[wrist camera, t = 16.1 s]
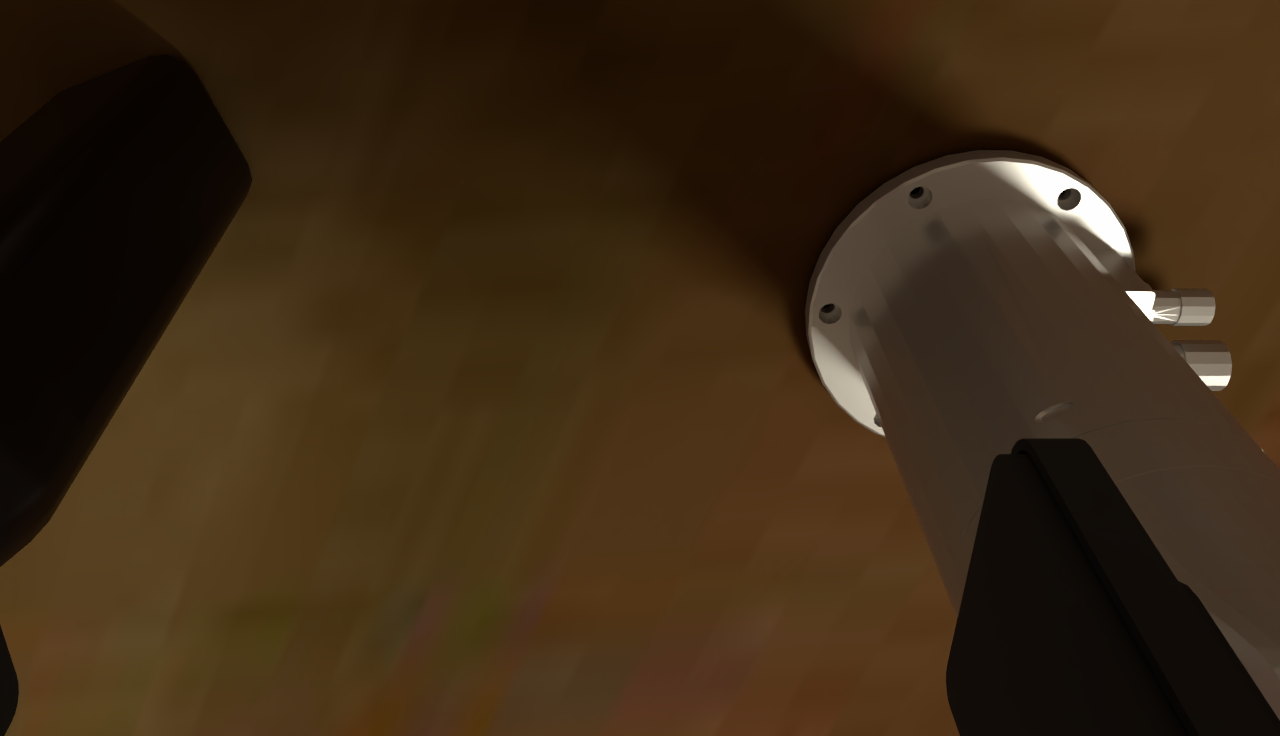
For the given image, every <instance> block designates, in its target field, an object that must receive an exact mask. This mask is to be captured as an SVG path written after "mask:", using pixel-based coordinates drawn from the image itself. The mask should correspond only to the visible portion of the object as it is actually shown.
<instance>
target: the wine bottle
mask: <svg viewBox="0 0 1280 736" xmlns="http://www.w3.org/2000/svg"><path fill="white" fill-rule="evenodd" d="M251 182H252V177H251V173H250V170H249V166H248V163H247V161H246V160H245V158H244V156H243V154H242V153H241V151H240V149H239V147H238V146H237V144H236V142H235V140H234V139H233V137H232V135H231V133H230V132H229V130H228V128H227V127H226V125H225V123H224V121H223V120H222V118H221V116H220V114H219V113H218V111H217V109H216V107H215V106H214V104H213V102H212V100H211V99H210V97H209V95H208V93H207V92H206V90H205V88H204V86H203V85H202V83H201V81H200V79H199V78H198V76H197V75H196V73H195V72H194V71H193V70H192V69H191V68H190V67H189V66H188V65H187V64H186V63H185V62H184V61H182V60H180V59H177V58H175V57H172V56H170V55H167V54H166V55H157V56H149V57H147V58H144V59H142V60H139V61H137V62H134V63H132V64H129V65H127V66H124V67H122V68H119V69H117V70H114V71H112V72H109V73H107V74H104V75H102V76H99V77H97V78H94V79H92V80H89V81H87V82H84V83H82V84H79V85H77V86H74V87H72V88H69V89H67V90H64V91H62V92H60V93H58V94H57V95H56V96H55V97H53V98H52V99H51V100H50V101H49V102H47V103H46V104H45V105H44V106H43V107H42V108H40V109H39V110H38V111H37V112H36V113H34V114H33V115H32V116H31V117H30V118H29V119H27V120H26V121H25V122H24V123H23V124H22V125H20V126H19V127H18V128H17V129H16V130H14V131H13V132H12V133H11V134H10V135H9V136H7V137H6V138H5V139H4V140H3V141H1V142H0V567H1V566H2V565H3V564H5V563H6V562H7V561H8V560H9V559H10V558H12V557H13V556H14V555H15V554H16V553H18V552H19V551H20V550H21V549H22V548H24V547H25V546H26V545H27V544H28V543H29V542H31V541H32V540H33V538H34V537H35V536H36V535H37V534H38V533H39V532H40V531H41V530H42V528H43V527H44V526H45V525H46V524H47V523H48V522H49V521H50V519H51V517H52V516H53V514H54V512H55V511H56V509H57V507H58V506H59V504H60V503H61V501H62V499H63V498H64V496H65V494H66V493H67V491H68V489H69V488H70V486H71V484H72V483H73V481H74V479H75V478H76V476H77V475H78V473H79V471H80V470H81V468H82V466H83V465H84V463H85V461H86V460H87V458H88V456H89V455H90V453H91V451H92V450H93V448H94V447H95V445H96V443H97V442H98V440H99V438H100V437H101V435H102V433H103V432H104V430H105V428H106V427H107V425H108V423H109V422H110V420H111V419H112V417H113V415H114V414H115V412H116V410H117V409H118V407H119V405H120V404H121V402H122V400H123V399H124V397H125V395H126V394H127V392H128V391H129V389H130V387H131V386H132V384H133V382H134V381H135V379H136V377H137V376H138V374H139V372H140V371H141V369H142V367H143V366H144V364H145V363H146V361H147V359H148V358H149V356H150V354H151V353H152V351H153V349H154V348H155V346H156V344H157V343H158V341H159V340H160V338H161V336H162V335H163V333H164V331H165V330H166V328H167V326H168V325H169V323H170V321H171V320H172V318H173V316H174V315H175V313H176V312H177V310H178V308H179V307H180V305H181V303H182V302H183V300H184V298H185V297H186V295H187V293H188V292H189V290H190V288H191V287H192V285H193V284H194V282H195V280H196V279H197V277H198V275H199V274H200V272H201V270H202V269H203V267H204V265H205V264H206V262H207V260H208V259H209V257H210V256H211V254H212V252H213V251H214V249H215V247H216V246H217V244H218V242H219V241H220V239H221V237H222V236H223V234H224V232H225V231H226V229H227V228H228V226H229V224H230V223H231V221H232V219H233V218H234V216H235V214H236V213H237V211H238V209H239V208H240V206H241V204H242V203H243V201H244V200H245V198H246V196H247V194H248V191H249V188H250V185H251Z"/></svg>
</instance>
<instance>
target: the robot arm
mask: <svg viewBox="0 0 1280 736" xmlns="http://www.w3.org/2000/svg"><path fill="white" fill-rule="evenodd" d="M917 187H921V188H920V190H919V192H917V193H916V194H910V192H911V191H912V190H914V189H915V188H917ZM1065 189H1067V190H1066V191H1065V193H1064V194H1062V195H1059V194H1060V193H1061V192H1062V191H1064V190H1065ZM831 303H832V304H831ZM827 304H831V305H830V306H829V307H827V308H823V306H825V305H827ZM1214 313H1215V299H1214V296H1213V294H1212V292H1211V291H1210V290H1208V289H1172V290H1152V288H1151V287H1150V285H1149V284H1147V283H1145V282H1144V281H1143V280H1142V279H1141V278H1140V277H1139V276H1138V275H1137V274H1136V269H1135V259H1134V252H1133V249H1132V246H1131V243H1130V240H1129V237H1128V235H1127V232H1126V229H1125V226H1124V225H1123V223H1122V222H1121V220H1120V219H1119V217H1118V216H1117V214H1116V213H1115V211H1114V210H1113V208H1112V207H1111V205H1110V204H1109V203H1108V202H1107V201H1106V199H1105V198H1104V197H1103V196H1102V195H1101V194H1100V193H1099V192H1098V191H1097V190H1096V189H1095V188H1094V187H1093V186H1092V185H1091V184H1089V183H1088V182H1087V181H1085V180H1084V179H1083V178H1081V177H1080V176H1078V175H1077V174H1076V173H1074V172H1073V171H1072V170H1070V169H1069V168H1067V167H1064V166H1062V165H1060V164H1057V163H1055V162H1053V161H1051V160H1048V159H1046V158H1044V157H1041V156H1036V155H1031V154H1026V153H1022V152H1017V151H1012V150H976V151H970V152H964V153H958V154H952V155H946V156H943V157H940V158H937V159H935V160H932V161H929V162H926V163H923V164H920V165H918V166H915V167H913V168H911V169H909V170H907V171H905V172H904V173H902V174H900V175H898V176H896V177H894V178H893V179H891V180H889V181H887V182H885V183H884V184H883V185H881V186H880V187H879V188H877V189H876V190H875V191H874V192H872V193H871V194H870V195H869V196H867V197H866V198H865V199H864V200H862V201H861V202H860V203H859V204H857V206H856V207H855V208H854V209H853V210H852V211H851V212H850V213H849V215H848V216H847V217H846V218H845V219H844V220H843V221H842V222H841V223H840V225H839V226H838V227H837V228H836V229H835V231H834V233H833V234H832V236H831V238H830V239H829V241H828V242H827V244H826V246H825V247H824V249H823V250H822V252H821V254H820V256H819V259H818V261H817V264H816V266H815V269H814V272H813V274H812V277H811V279H810V282H809V288H808V294H807V300H806V306H805V322H806V337H807V341H808V345H809V348H810V352H811V356H812V360H813V362H814V365H815V367H816V369H817V372H818V374H819V377H820V379H821V382H822V384H823V385H824V387H825V388H826V389H827V391H828V392H829V394H830V395H831V397H832V398H833V399H834V401H835V402H836V404H837V405H838V406H840V407H841V408H842V409H843V410H844V411H845V412H846V413H847V414H848V415H849V416H850V417H852V418H853V419H854V420H855V421H856V422H858V423H859V424H861V425H863V426H864V427H866V428H867V429H869V430H871V431H872V432H874V433H876V434H878V435H881V436H884V437H886V439H887V442H888V444H889V447H890V449H891V452H892V454H893V457H894V459H895V462H896V464H897V467H898V469H899V472H900V474H901V477H902V479H903V482H904V484H905V487H906V489H907V492H908V495H909V497H910V500H911V502H912V505H913V507H914V510H915V512H916V515H917V517H918V520H919V522H920V525H921V527H922V530H923V532H924V535H925V537H926V540H927V542H928V545H929V547H930V550H931V552H932V555H933V558H934V560H935V563H936V565H937V568H938V570H939V573H940V575H941V578H942V580H943V583H944V585H945V588H946V590H947V593H948V595H949V598H950V600H951V603H952V605H953V608H954V610H955V613H956V615H957V618H958V619H957V623H956V628H955V632H954V637H953V641H952V646H951V650H950V655H949V660H948V664H947V671H946V686H947V695H948V701H949V705H950V708H951V711H952V714H953V717H954V720H955V722H956V725H957V728H958V731H959V734H960V736H1280V468H1279V467H1278V466H1277V465H1276V464H1275V463H1274V462H1273V460H1272V459H1271V458H1270V457H1269V456H1268V455H1267V454H1266V453H1265V452H1264V451H1263V450H1262V449H1261V448H1260V447H1259V445H1258V444H1257V443H1256V442H1255V441H1254V440H1253V438H1252V437H1251V436H1250V435H1249V434H1248V433H1247V432H1246V430H1245V429H1244V428H1243V427H1242V426H1241V425H1240V423H1239V422H1238V421H1237V420H1236V419H1235V418H1234V417H1233V415H1232V414H1231V413H1230V412H1229V411H1228V410H1227V408H1226V407H1225V406H1224V405H1223V404H1222V403H1221V401H1220V400H1219V399H1218V398H1217V397H1216V396H1215V395H1214V393H1213V392H1212V391H1221V390H1222V389H1223V388H1224V387H1226V386H1227V384H1228V381H1229V379H1230V377H1231V369H1232V361H1231V355H1230V351H1229V350H1228V348H1227V346H1226V344H1225V343H1223V342H1221V341H1219V340H1174V341H1172V342H1169V341H1168V340H1167V339H1166V338H1165V337H1164V336H1163V334H1162V333H1161V332H1160V331H1159V330H1158V329H1157V327H1156V326H1155V325H1154V324H1170V325H1173V326H1206V325H1208V324H1210V323H1211V321H1212V319H1213V317H1214ZM18 694H19V690H18V680H17V675H16V672H15V669H14V666H13V663H12V660H11V657H10V654H9V651H8V647H7V644H6V641H5V638H4V635H3V632H2V629H1V626H0V736H4V735H5V733H6V731H7V729H8V728H9V726H10V724H11V722H12V719H13V717H14V715H15V711H16V707H17V703H18Z"/></svg>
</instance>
